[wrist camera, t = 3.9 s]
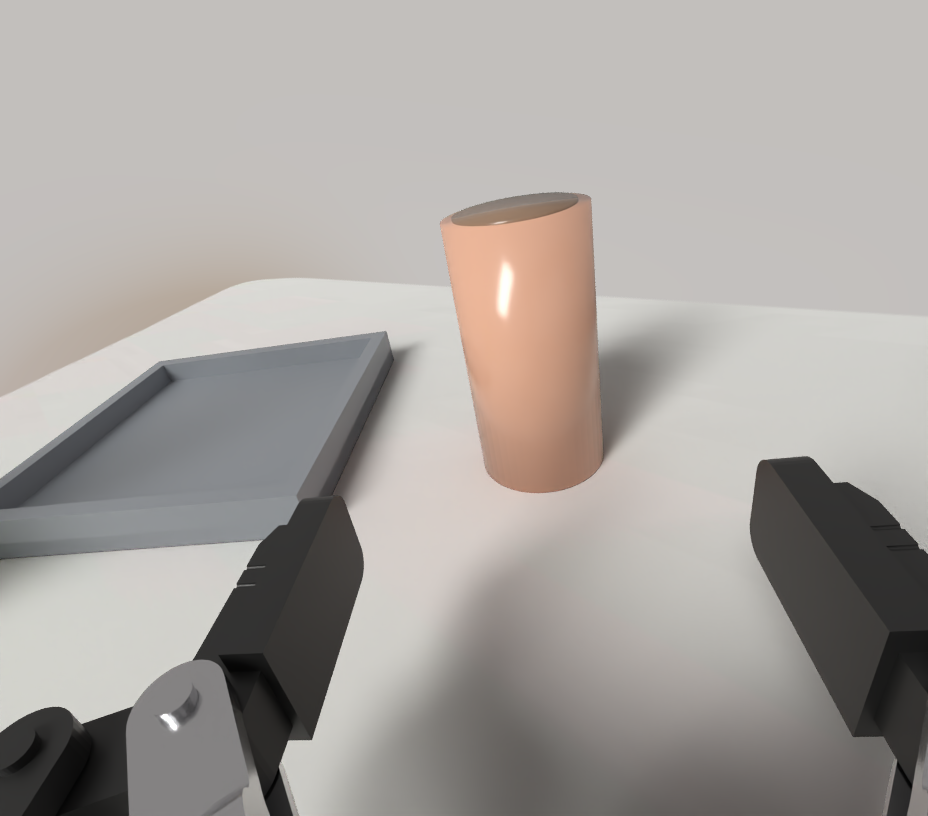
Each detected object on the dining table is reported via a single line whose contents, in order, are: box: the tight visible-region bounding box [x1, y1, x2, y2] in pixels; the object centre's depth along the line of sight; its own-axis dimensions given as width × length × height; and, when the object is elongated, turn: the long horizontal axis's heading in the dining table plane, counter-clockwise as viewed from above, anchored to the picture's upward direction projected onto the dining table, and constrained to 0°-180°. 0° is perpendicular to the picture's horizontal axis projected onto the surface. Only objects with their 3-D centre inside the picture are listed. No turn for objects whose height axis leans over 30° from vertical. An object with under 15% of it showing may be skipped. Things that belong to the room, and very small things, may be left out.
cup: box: [440, 192, 603, 493], centre depth 20 cm, size 5×5×10 cm
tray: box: [0, 331, 394, 559], centre depth 28 cm, size 16×16×2 cm
